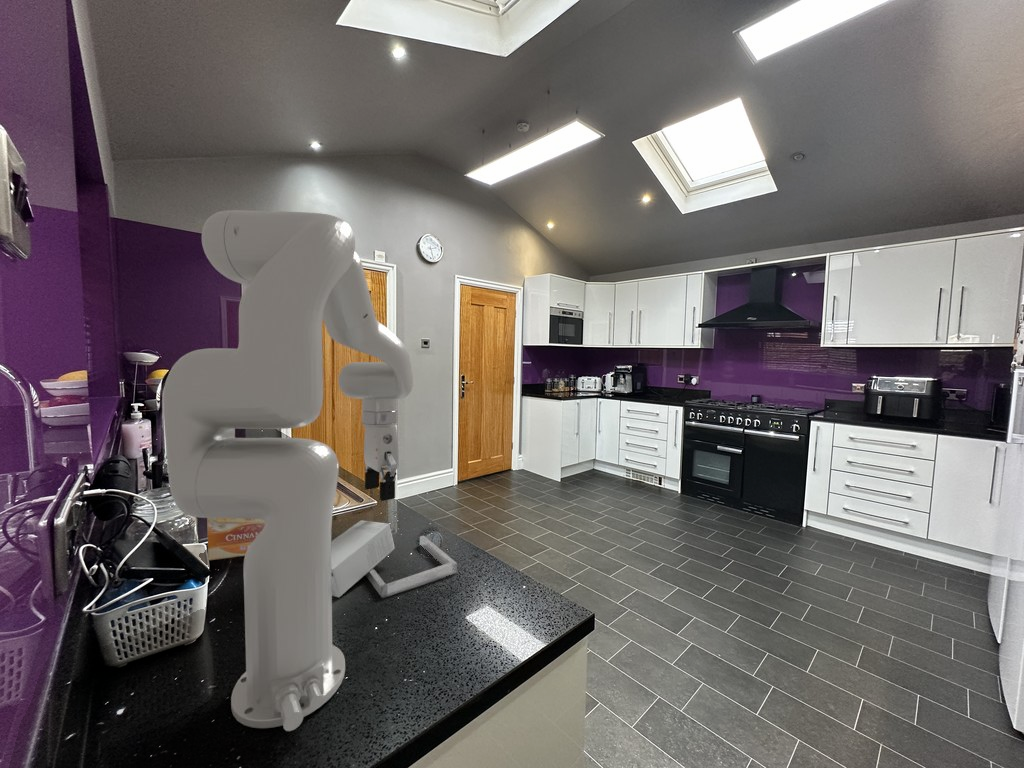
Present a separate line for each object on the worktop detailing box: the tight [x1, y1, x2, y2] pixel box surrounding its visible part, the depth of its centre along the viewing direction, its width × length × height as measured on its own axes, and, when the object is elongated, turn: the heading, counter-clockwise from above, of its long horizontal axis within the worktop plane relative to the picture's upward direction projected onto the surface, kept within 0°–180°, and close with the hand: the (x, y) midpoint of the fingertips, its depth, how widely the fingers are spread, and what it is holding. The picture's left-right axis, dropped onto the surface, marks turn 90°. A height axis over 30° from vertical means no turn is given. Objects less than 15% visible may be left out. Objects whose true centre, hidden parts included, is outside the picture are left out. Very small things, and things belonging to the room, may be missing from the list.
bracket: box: [364, 535, 458, 599], centre depth 81 cm, size 15×15×2 cm
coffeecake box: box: [206, 518, 265, 561], centre depth 86 cm, size 15×7×20 cm, turn 114°
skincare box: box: [331, 519, 395, 598], centre depth 77 cm, size 8×6×15 cm
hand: (379, 493), depth 91 cm, fingers open, 9 cm apart
